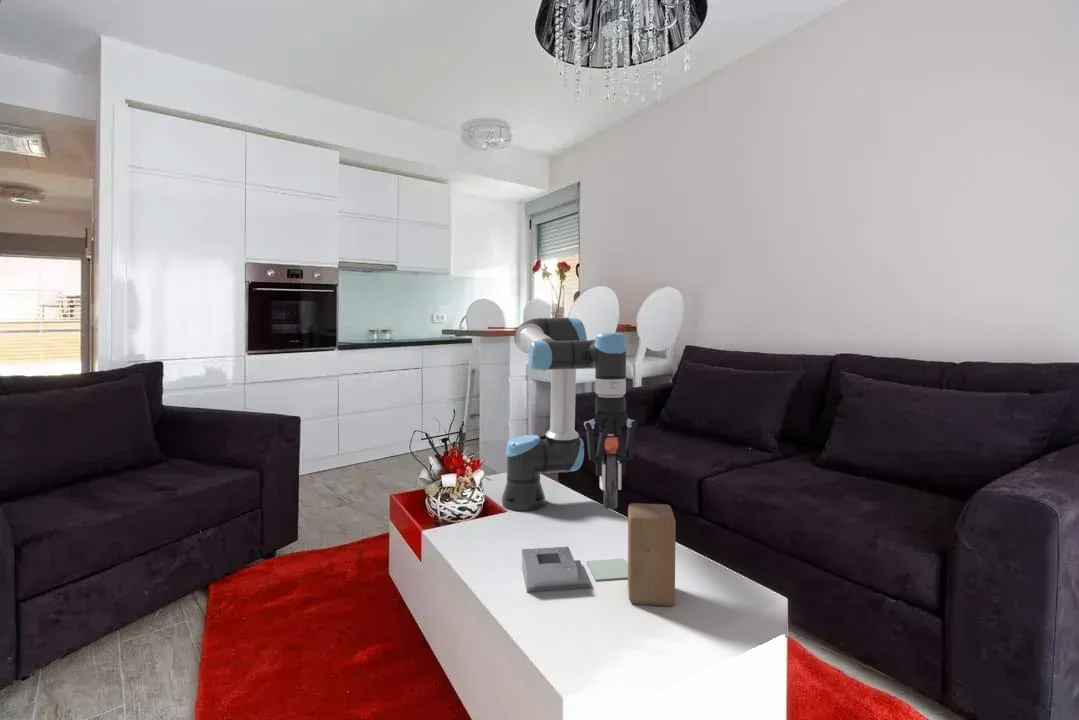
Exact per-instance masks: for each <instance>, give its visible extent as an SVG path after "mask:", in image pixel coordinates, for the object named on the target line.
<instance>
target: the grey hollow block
mask: <svg viewBox="0 0 1079 720" xmlns="http://www.w3.org/2000/svg"><path fill="white" fill-rule="evenodd" d="M572 554H573V553H572V552H571V549H570V547H569V546H558V547H557V546H556V547H542V548H541V547H539V548H537V547H536V548H521V557H522V558H521V570H522V575H523V580H524V584H525V590H526V593H535V592H536V593H539V592H549V591H551V592H553V591H554V592H555V591H565V590H577V589H578V590H579V589H582V590H583V589H591V582H590V579H589V578H588V576H587V573H586V570H585V568H584V567H583V564H582V562H581V560H580V559H579V560H578V559H577V560H575V558H574V556H573V555H572Z"/></svg>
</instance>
